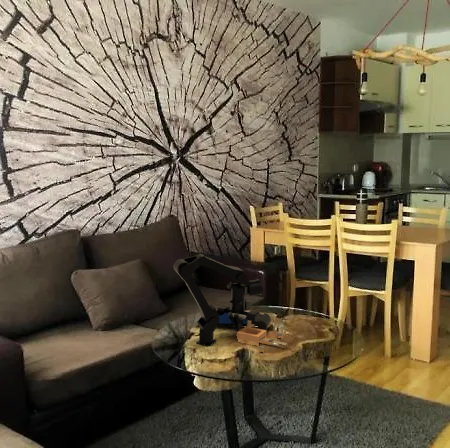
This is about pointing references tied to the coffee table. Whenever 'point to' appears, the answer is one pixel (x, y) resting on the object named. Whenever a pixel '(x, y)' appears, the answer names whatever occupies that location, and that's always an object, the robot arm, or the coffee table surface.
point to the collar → (251, 334)
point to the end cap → (262, 322)
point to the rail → (272, 341)
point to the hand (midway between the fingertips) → (238, 331)
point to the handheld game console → (228, 321)
